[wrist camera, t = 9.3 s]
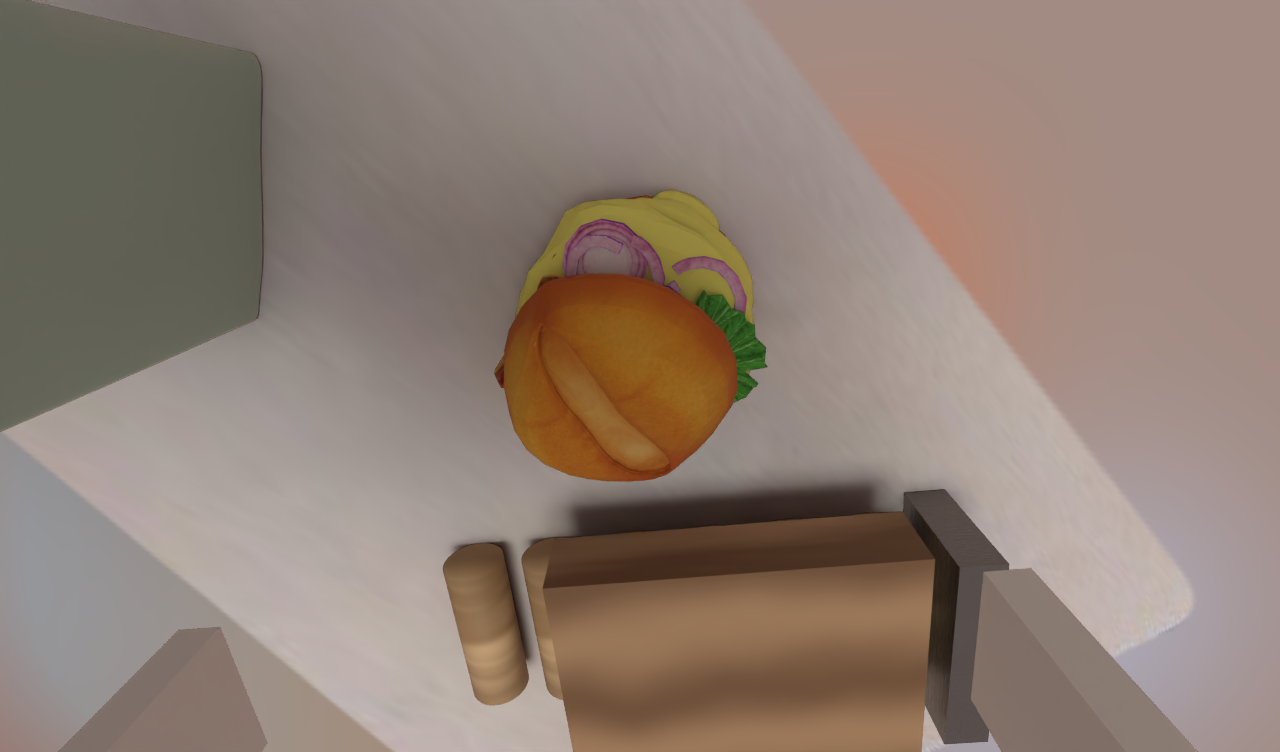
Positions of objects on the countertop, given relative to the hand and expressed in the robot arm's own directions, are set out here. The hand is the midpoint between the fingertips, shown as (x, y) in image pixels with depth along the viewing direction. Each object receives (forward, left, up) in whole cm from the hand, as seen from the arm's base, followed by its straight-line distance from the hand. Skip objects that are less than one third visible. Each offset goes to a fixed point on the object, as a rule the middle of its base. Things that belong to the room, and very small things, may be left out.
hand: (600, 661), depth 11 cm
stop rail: (+14, +14, -19) cm, 28 cm away
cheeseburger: (-1, 0, -20) cm, 20 cm away
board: (+14, +4, -16) cm, 22 cm away
